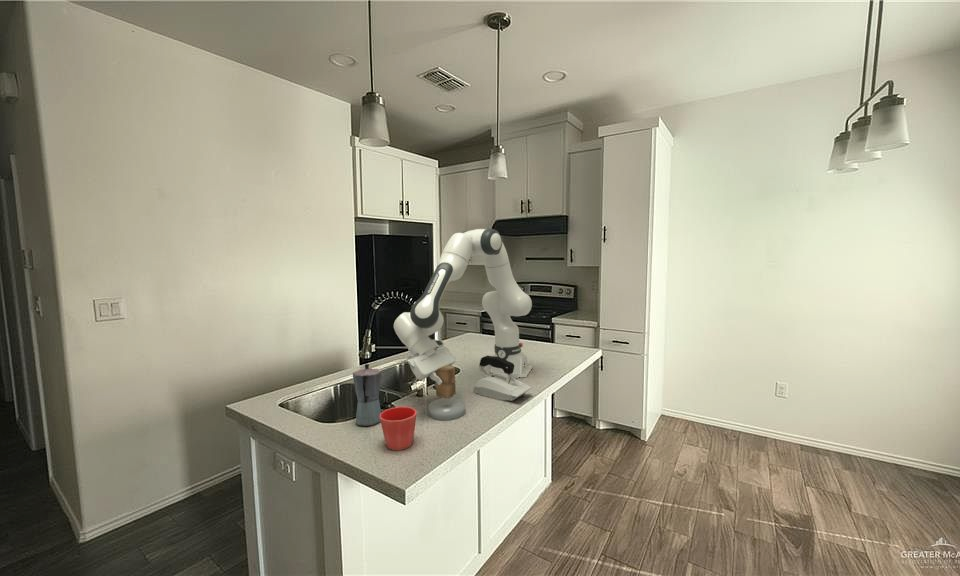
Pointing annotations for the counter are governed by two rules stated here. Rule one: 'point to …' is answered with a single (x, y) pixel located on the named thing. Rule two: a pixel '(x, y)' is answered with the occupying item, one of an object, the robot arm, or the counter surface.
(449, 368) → the walnut block
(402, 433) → the flower pot
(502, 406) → the counter surface
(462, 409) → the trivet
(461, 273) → the robot arm
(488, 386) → the iron
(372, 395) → the moka pot
